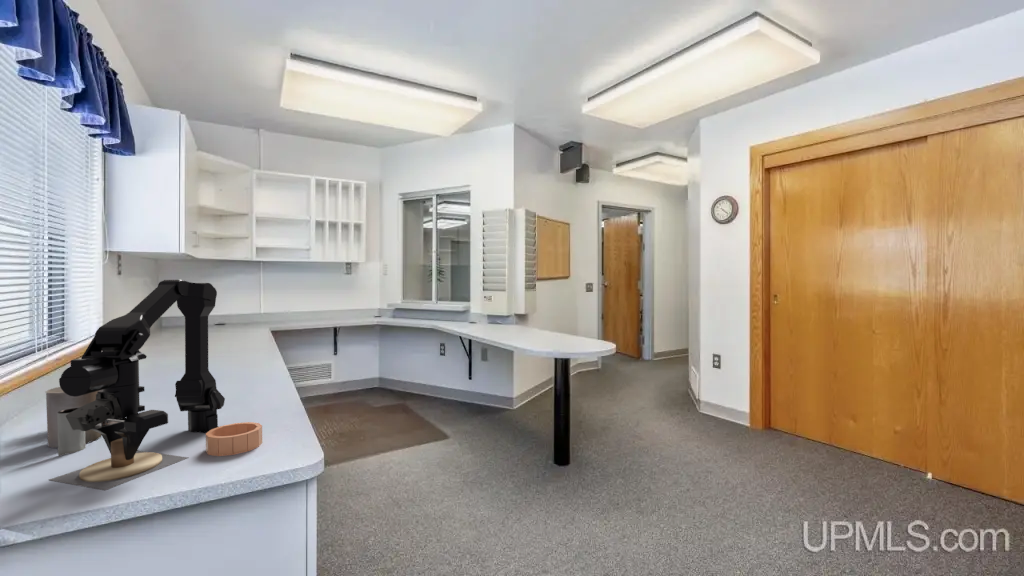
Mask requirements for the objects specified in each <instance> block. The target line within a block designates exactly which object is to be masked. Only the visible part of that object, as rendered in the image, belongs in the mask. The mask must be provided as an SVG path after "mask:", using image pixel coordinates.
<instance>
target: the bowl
mask: <svg viewBox="0 0 1024 576" xmlns="http://www.w3.org/2000/svg"><path fill="white" fill-rule="evenodd" d="M262 444H263V425H262V424H261V423H259V422H255V421H253V422H251V421H245V422H235V423H234V422H233V423H230V424H224V425H220V426H218V427H217V428H214V429H211V430H210V431H208V432H207V433H205V452H206V455H207V456H213V457H222V456H223V457H225V456H233V455H239V454H243V453H246V452H250V451H252V450H254V449H257V448H259V447H260V446H261V445H262Z"/></svg>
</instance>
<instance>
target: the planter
mask: <svg viewBox="0 0 1024 576" xmlns="http://www.w3.org/2000/svg"><path fill="white" fill-rule="evenodd" d="M76 409H78V408H71V409H66V410H62V411H59V412H58V413H57V420H58V448H57V454H58V455H57V457H61V456H64V455H68V454H73V453H77V452H81V451H83V450H86V444H87V443H85V431H81V430H77V429H76V430H73V429H72V428H71V426H70V424H69V422H68V420H67V418H66V415H67V414H68V413H70V412H72V411H74V410H76Z"/></svg>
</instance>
